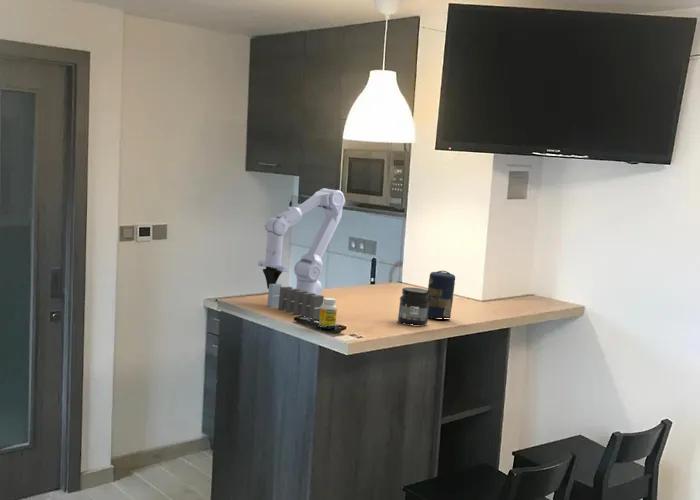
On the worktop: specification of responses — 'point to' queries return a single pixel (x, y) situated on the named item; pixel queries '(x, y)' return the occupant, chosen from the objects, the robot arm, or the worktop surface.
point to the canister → (440, 294)
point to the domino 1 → (273, 295)
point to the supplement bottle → (328, 312)
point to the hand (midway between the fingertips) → (270, 288)
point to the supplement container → (414, 306)
